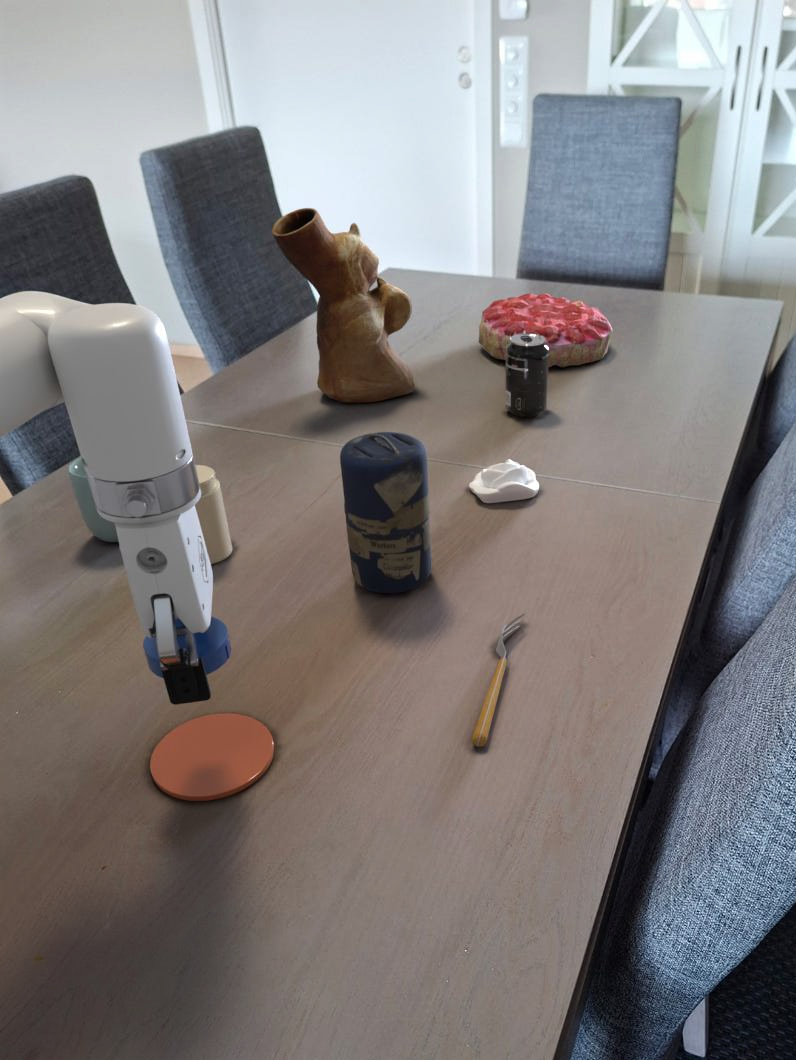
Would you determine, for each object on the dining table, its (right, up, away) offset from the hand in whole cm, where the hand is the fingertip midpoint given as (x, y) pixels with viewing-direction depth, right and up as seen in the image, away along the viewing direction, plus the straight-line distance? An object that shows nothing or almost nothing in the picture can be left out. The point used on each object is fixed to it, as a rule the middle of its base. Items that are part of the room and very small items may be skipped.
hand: (193, 671), depth 77 cm
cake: (+37, +58, +97) cm, 119 cm away
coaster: (0, -8, +6) cm, 10 cm away
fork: (+26, -2, +15) cm, 30 cm away
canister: (+14, +10, +31) cm, 35 cm away
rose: (+28, +23, +49) cm, 61 cm away
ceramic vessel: (+3, +44, +78) cm, 90 cm away
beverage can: (+32, +40, +72) cm, 88 cm away
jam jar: (-10, +13, +36) cm, 39 cm away
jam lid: (0, +3, -2) cm, 3 cm away
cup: (-22, +16, +40) cm, 48 cm away
